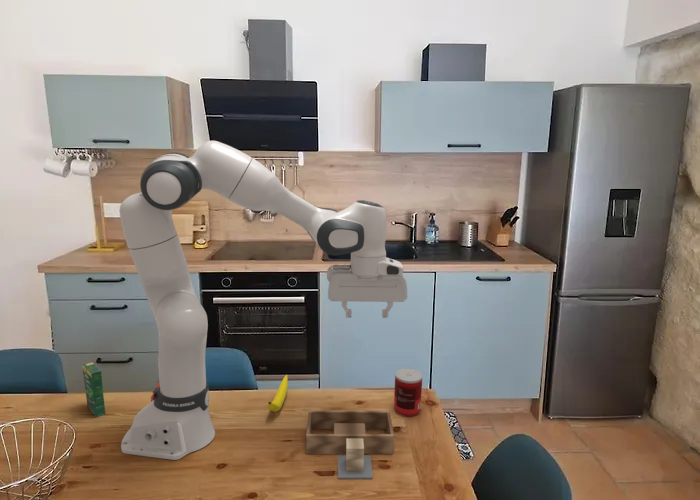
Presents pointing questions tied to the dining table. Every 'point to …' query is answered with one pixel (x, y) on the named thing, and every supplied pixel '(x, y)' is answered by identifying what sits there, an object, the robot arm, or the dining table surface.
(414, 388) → the canned food
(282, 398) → the banana
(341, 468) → the mat
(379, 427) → the crate
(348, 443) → the block
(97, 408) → the coffee box
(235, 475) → the dining table surface
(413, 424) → the dining table surface
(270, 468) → the dining table surface
